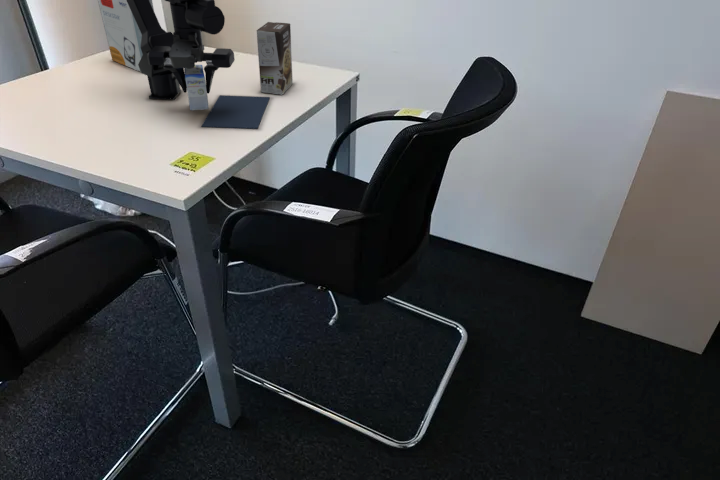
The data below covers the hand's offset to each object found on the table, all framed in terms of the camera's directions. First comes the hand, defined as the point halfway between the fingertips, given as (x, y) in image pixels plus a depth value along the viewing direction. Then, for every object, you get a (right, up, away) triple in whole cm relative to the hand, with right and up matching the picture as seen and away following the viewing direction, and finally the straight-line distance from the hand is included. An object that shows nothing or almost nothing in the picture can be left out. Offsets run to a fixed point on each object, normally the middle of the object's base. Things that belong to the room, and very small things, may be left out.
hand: (196, 92), depth 129 cm
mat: (+9, -4, +3) cm, 10 cm away
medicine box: (0, -3, +2) cm, 3 cm away
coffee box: (+17, +6, +17) cm, 24 cm away
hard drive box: (-26, +16, +28) cm, 42 cm away
